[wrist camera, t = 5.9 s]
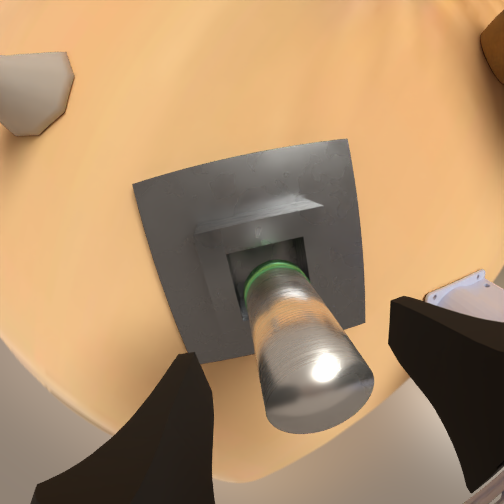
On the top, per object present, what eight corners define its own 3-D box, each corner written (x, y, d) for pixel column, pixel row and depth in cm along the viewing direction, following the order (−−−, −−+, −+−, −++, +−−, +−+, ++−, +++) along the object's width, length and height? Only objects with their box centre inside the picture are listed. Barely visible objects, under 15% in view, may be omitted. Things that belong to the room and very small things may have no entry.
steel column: (302, 252, 14) (379, 341, 6) (310, 309, 15) (371, 414, 7) (236, 267, 13) (252, 377, 6) (251, 324, 14) (273, 444, 7)
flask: (13, 75, 12) (-62, 54, 3) (78, 40, 13) (7, -12, 3) (11, 150, 14) (-77, 156, 5) (76, 119, 15) (-21, 98, 5)
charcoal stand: (341, 139, 17) (369, 134, 13) (360, 316, 21) (382, 342, 17) (137, 183, 17) (114, 187, 13) (194, 357, 21) (190, 391, 17)
